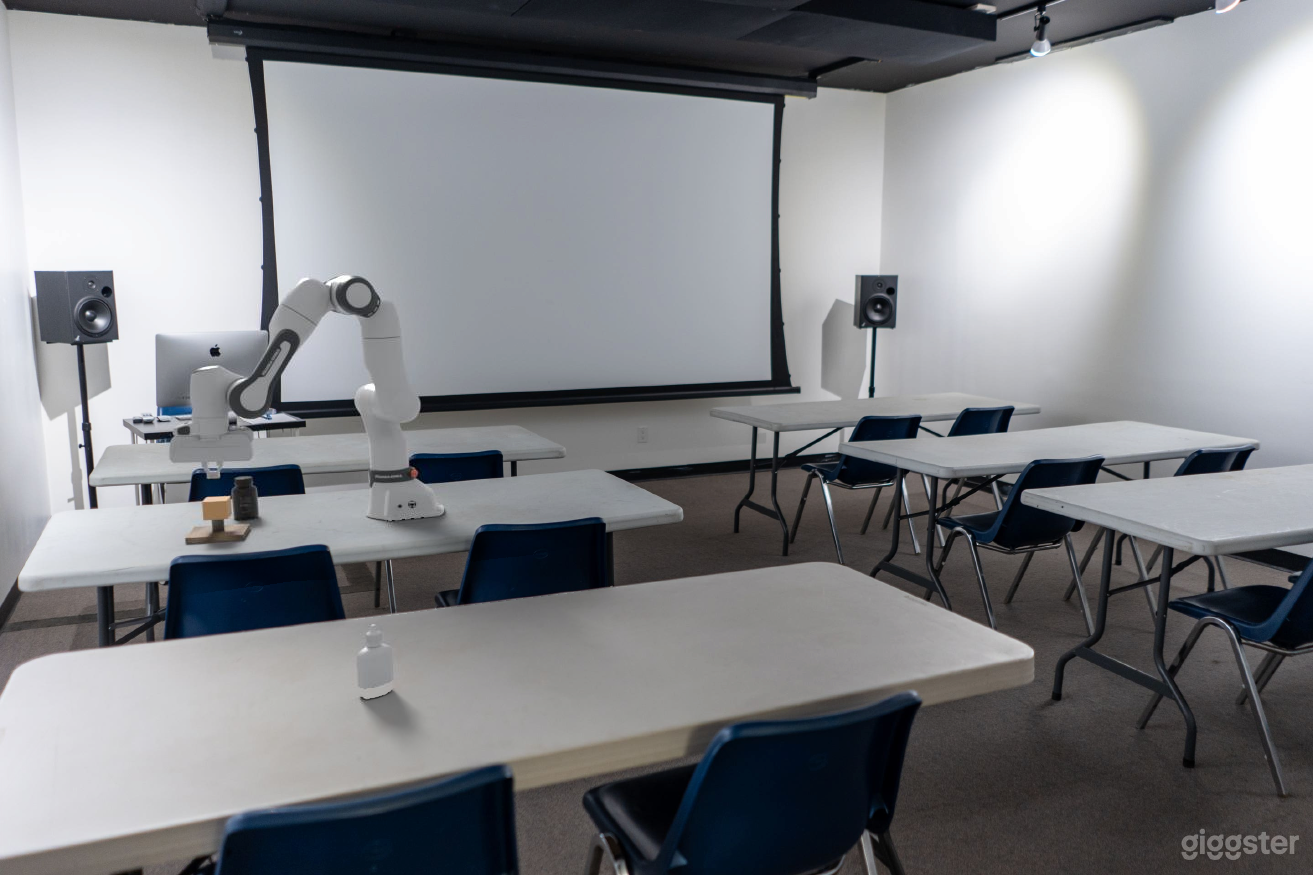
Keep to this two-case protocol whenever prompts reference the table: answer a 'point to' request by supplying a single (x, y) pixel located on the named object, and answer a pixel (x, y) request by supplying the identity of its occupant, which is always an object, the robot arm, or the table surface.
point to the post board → (218, 532)
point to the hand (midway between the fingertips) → (213, 478)
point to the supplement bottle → (244, 499)
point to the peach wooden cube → (216, 508)
